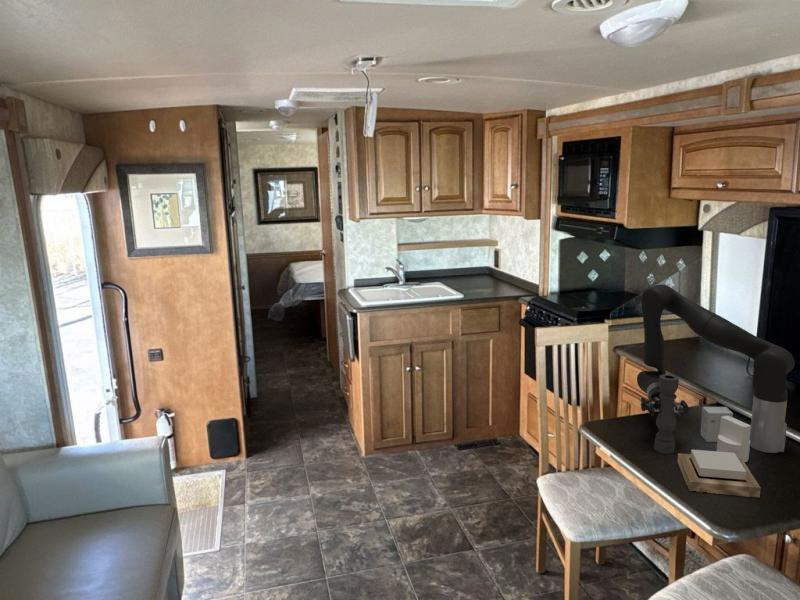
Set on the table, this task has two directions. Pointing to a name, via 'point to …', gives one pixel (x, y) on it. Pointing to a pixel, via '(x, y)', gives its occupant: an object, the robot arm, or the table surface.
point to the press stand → (717, 481)
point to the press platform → (718, 464)
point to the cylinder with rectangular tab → (734, 437)
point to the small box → (712, 422)
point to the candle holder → (666, 414)
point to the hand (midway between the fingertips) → (667, 414)
